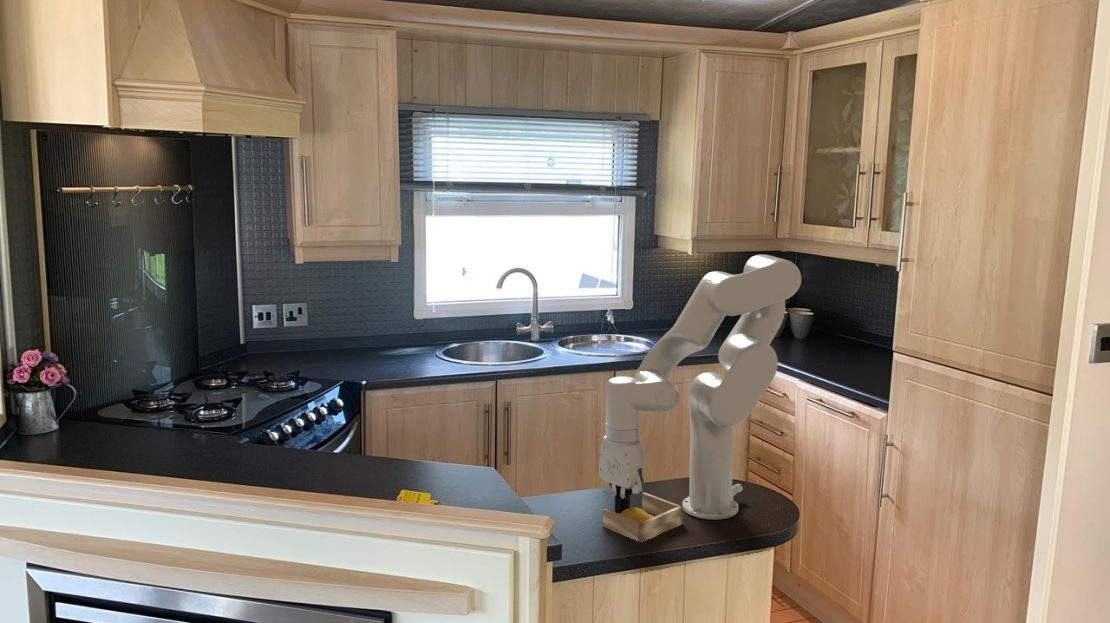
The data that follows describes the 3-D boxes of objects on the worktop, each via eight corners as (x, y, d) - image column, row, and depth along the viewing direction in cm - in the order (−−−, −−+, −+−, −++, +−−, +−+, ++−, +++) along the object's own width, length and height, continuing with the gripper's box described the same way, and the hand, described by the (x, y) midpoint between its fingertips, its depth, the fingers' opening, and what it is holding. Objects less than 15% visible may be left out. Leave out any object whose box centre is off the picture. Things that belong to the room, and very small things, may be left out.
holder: (644, 508, 197) (644, 492, 197) (682, 523, 189) (683, 506, 189) (602, 526, 188) (602, 509, 188) (641, 543, 180) (641, 525, 180)
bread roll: (635, 540, 182) (635, 522, 181) (610, 525, 190) (610, 508, 189) (666, 531, 186) (666, 513, 186) (641, 516, 194) (641, 500, 193)
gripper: (586, 429, 192) (586, 507, 196) (636, 445, 182) (635, 527, 185) (610, 422, 197) (609, 498, 201) (660, 437, 187) (658, 517, 190)
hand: (622, 512), depth 193 cm, fingers closed
